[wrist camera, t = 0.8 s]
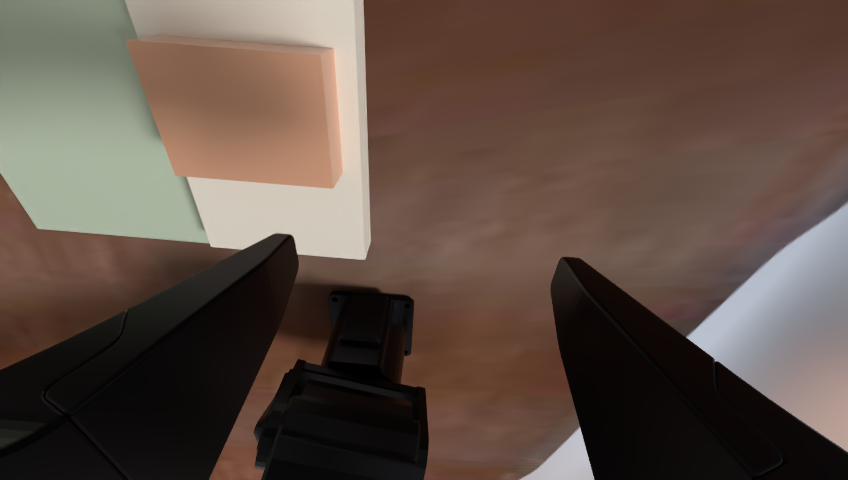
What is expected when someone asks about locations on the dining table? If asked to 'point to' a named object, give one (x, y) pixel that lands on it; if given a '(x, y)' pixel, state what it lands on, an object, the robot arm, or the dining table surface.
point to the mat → (84, 125)
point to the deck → (349, 200)
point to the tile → (243, 108)
